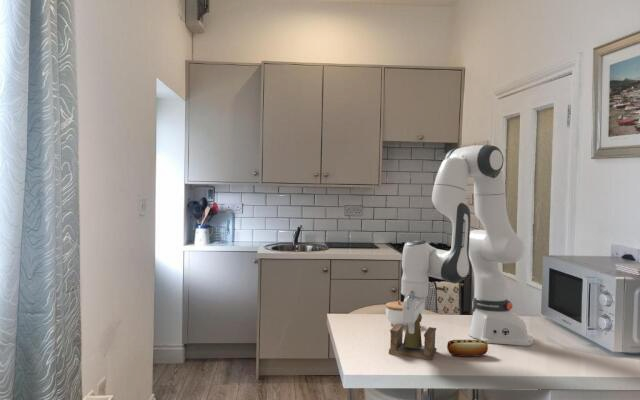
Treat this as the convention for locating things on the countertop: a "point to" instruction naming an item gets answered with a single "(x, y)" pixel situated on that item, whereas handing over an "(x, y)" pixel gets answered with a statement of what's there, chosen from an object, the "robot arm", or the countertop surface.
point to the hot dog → (467, 347)
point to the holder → (422, 352)
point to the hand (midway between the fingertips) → (413, 330)
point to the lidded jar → (395, 312)
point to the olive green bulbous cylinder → (414, 335)
